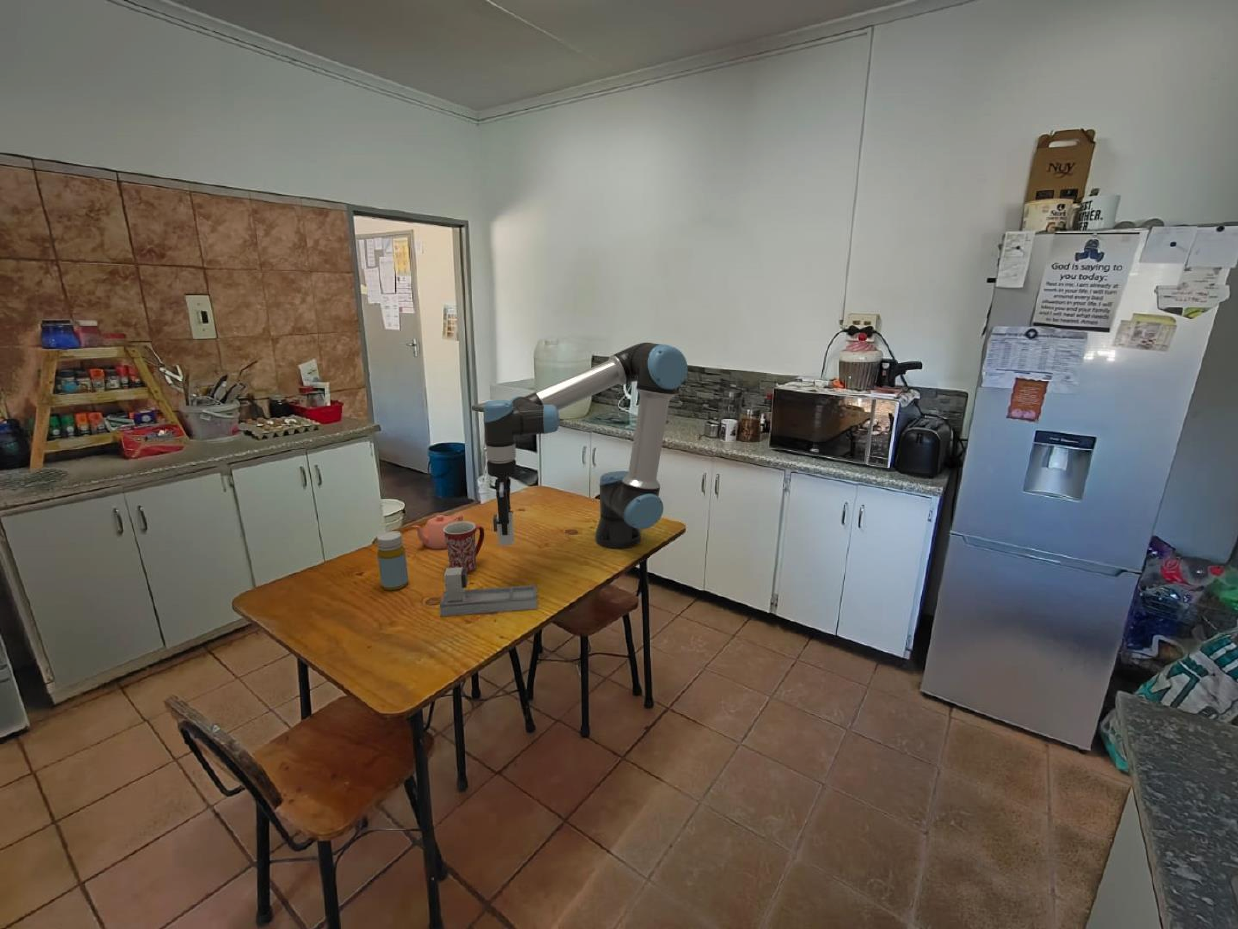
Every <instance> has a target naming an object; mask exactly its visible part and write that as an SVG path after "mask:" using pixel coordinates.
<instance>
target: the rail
mask: <svg viewBox="0 0 1238 929" xmlns="http://www.w3.org/2000/svg"><path fill="white" fill-rule="evenodd" d="M443 575H444V576H443V577H444V579H443V580H444V587H445V591H443V595H442V596H441V599H440V604H439V612H440V617H449V616H451V617H452V616H463V615H464V616H465V615H474V614H489V613H501V612H502V613H503V612H514V611H525V610H527V611H528V610H536V609H538V591H537V584H529V585H517V586H504V587H489V588H478V589H477V588H475V589H465V588H467V586H468V582H469V581H468V574H467V569H463V567H457V568H450V567H446V569H445V572H444V574H443Z"/></svg>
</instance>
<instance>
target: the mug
mask: <svg viewBox="0 0 1238 929" xmlns="http://www.w3.org/2000/svg"><path fill="white" fill-rule="evenodd" d="M443 531H444V534H445V540H446V545H447V548H446V550H447V556H448V562H449V568H457V567H463V569H467V575H469V574H471V573H473V572H474V571H475V570H476V569H477V556H478V555H479V553H480V550H481V547H482V546H483V543H484V539H485V529H484V527H483V526H480V525H477V524H475V523H474V522H471V521H462V522H458V521H455V523H451V524H449V525H447V526H445V527H444V529H443ZM477 531H479V536H478V540H477V544H476V532H477Z"/></svg>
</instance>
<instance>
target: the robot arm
mask: <svg viewBox="0 0 1238 929" xmlns="http://www.w3.org/2000/svg"><path fill="white" fill-rule="evenodd" d="M687 374H688V363H687V358H686V357H685V355H684V354H683V353H682V351H680V349H678V348H676V347H675V346H672V345H668V344H663V343H662V344H660V343H654V342H641V343H638V344H634V345H632V346H630V347H627V348H625V349H622V350H621V351H618V352H617V353H614V354H612V355H610V356H609V357H608V360H606V361H604V362H602V363H600V364H597V365H595V366H593V367H591V368H588V369H585V370H583V371H581V372H578V373H576V374H574V375H572V376H569V377H567V378H565V379H563V380H560V381H558V382H556V383H553V384H551V385H548V386H546V387H544V388H542V389H540V390H537V391H535V392H533V393H530V394H528V395H525V396H514V397H513V398H511V399H510V400H508V399H495V400H494V399H493V400H489V401H486V402H485V403H484V405H483V426H484V438H485V447H484V448H483V451H484V452H486V459H487V462H486V467H487V468H486V470H487V475H488V476H490V477H493V478H494V477H495V478H496V479H495V481H494V490H495V496H496V500H497V501H496V502H497V514H498V518H499V521H497V524H499V526H500V541H501V546H502V547H503V546H512V545H511V534H510V522H509V512H513V513H514V511H513V510H512V507H511V497H510V494H511V484H512V483H511V482H512V480H511V478H510V477H512V476H514V475H515V474H516V473H517V460H516V458H517V451H516V440H515V439H516V437H521V436H531V435H532V436H533V435H546V434H551V433H556V432H557V431H558V429H559V428H560V413H559V411H560V410H563V409H565V408H567V407H569V406H572V405H574V404H576V403H578V402H581V401H583V400H585V399H588V398H590V397H593V396H595V395H596V394H598V393H601V392H603V391H606V390H608V389H610V388H612V387H614V386H617V385H620V386H625V385H627V384H630V383H633V382H636V387H635V390H636V391H637V392H638V394H639V402H638V409H637V415H636V420H635V421H636V422H635V428H634V433H633V440H632V448H631V453H630V458H629V459H630V461H629V466H628V470H626V471H625V470H623V471H621V470H620V471H619V470H618V471H610V472H605V473H603V474H602V475H601V476H600V477H599V485H598V486H599V507H600V508H599V509H600V510H599V514H600V516H599V517H600V518H599V521H598V523H597V526H596V529H595V532H594V534H595V535H594V536H595V538H594V539H595V540H594V541H595V542H596V544H598V545H599V546H601V547H604V548H608V549H615V550H616V549H617V550H618V549H620V550H621V549H623V550H624V549H628V548H633V547H635V546H637V545H638V544H639V543H641V541H642V533H641V530H647V529H649V528H652V527H653V526H654V525H655V524H657V523H658V522H659V520H660V519H661V518H662V516H663V513H664V502H663V501H662V499H661V497H659V496H660V489H661V484H660V482H659V481H658V480H657V477H658V471H659V465H660V459H661V454H662V448H663V440H664V437H665V436H664V435H665V430H666V424H667V418H668V413H669V404H670V402H671V400H672V399H673V398H674V397H676V394H677V390H678V387H680V386H681V385H682V383H684V381H685V380H686V378H687Z"/></svg>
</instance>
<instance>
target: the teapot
mask: <svg viewBox="0 0 1238 929" xmlns="http://www.w3.org/2000/svg"><path fill="white" fill-rule="evenodd" d="M456 520H458V521H457V522H463V520H464V515H463V514H457V515H455V516H453V517H451V516H447V515H444V514H437V515H436V516H435V517H432V518H429V519H428V520H427V522H426V523H425V526H424V528H422V527H421V526H420V525H412V526H411V527H412V528H413V529H414V528H415V529H416V531H417V536H418V539H419V540H420V542H422V543H423V544H424V545H425V546H427V548H430V549H432V550H445V549H447V545H446V540H445V534H444V531H443V529H444V527H445V526H447V525H449V524H451V523H455V522H456Z"/></svg>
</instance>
